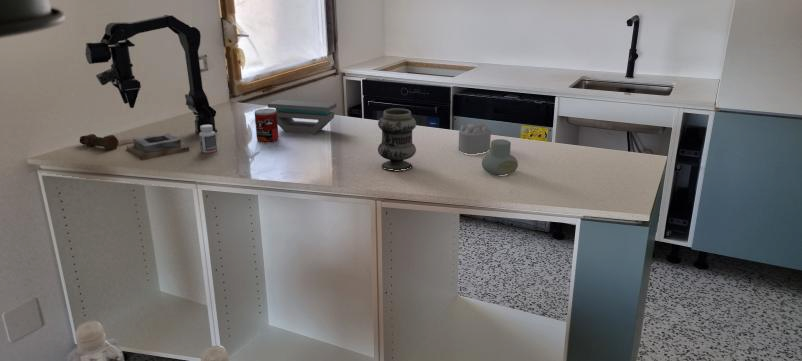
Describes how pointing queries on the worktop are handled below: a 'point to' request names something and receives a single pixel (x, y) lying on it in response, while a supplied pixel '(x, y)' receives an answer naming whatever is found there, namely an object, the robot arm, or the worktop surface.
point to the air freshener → (500, 158)
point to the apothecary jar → (397, 138)
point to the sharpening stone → (302, 115)
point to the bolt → (100, 141)
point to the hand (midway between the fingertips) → (128, 105)
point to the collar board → (154, 154)
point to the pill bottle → (207, 139)
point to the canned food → (266, 125)
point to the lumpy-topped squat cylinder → (474, 138)
